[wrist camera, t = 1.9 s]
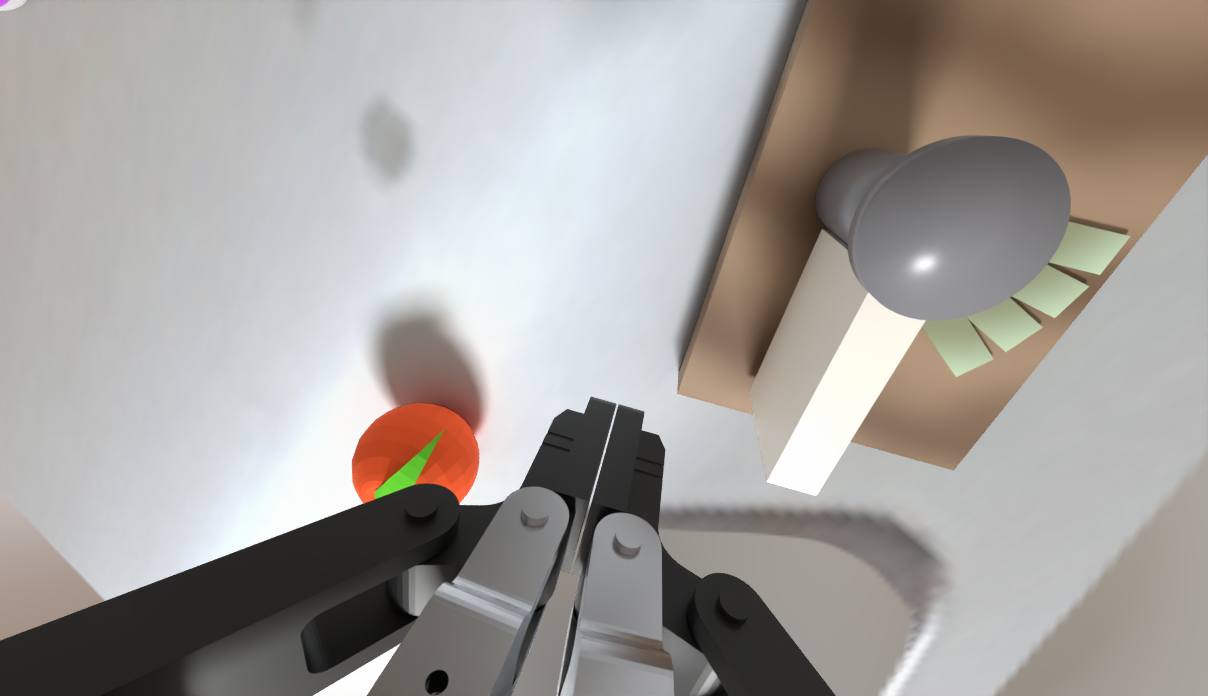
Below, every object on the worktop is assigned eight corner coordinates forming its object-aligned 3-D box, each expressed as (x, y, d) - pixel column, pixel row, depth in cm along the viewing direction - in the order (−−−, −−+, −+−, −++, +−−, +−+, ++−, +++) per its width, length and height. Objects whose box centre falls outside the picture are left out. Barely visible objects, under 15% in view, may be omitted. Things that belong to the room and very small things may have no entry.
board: (847, -118, 15) (871, -154, 13) (1288, -30, 14) (1381, -53, 12) (678, 374, 24) (677, 395, 23) (934, 444, 24) (955, 472, 22)
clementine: (432, 349, 27) (353, 419, 20) (525, 417, 28) (476, 502, 22) (382, 425, 30) (302, 504, 24) (466, 482, 31) (409, 572, 25)
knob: (829, 117, 16) (915, 115, 10) (952, 146, 16) (1120, 163, 10) (721, 382, 22) (733, 488, 15) (811, 406, 21) (860, 524, 15)
